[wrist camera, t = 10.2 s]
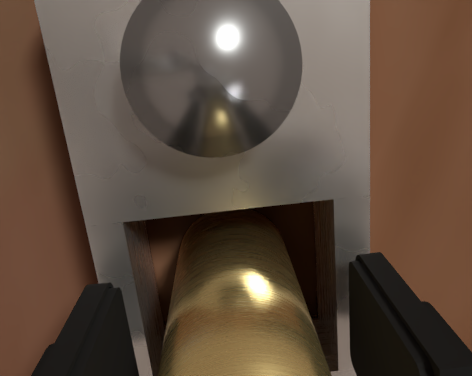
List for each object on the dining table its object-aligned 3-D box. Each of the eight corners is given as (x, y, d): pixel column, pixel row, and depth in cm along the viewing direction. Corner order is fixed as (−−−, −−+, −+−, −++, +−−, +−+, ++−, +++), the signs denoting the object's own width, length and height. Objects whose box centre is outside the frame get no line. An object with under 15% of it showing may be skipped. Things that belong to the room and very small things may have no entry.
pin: (246, 319, 14) (280, 622, 7) (158, 270, 14) (89, 548, 6) (306, 242, 14) (422, 487, 6) (217, 186, 13) (222, 384, 5)
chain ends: (347, 446, 16) (381, 547, 13) (165, 467, 16) (152, 575, 13) (336, -51, 11) (388, -94, 8) (65, -24, 11) (0, -56, 8)
